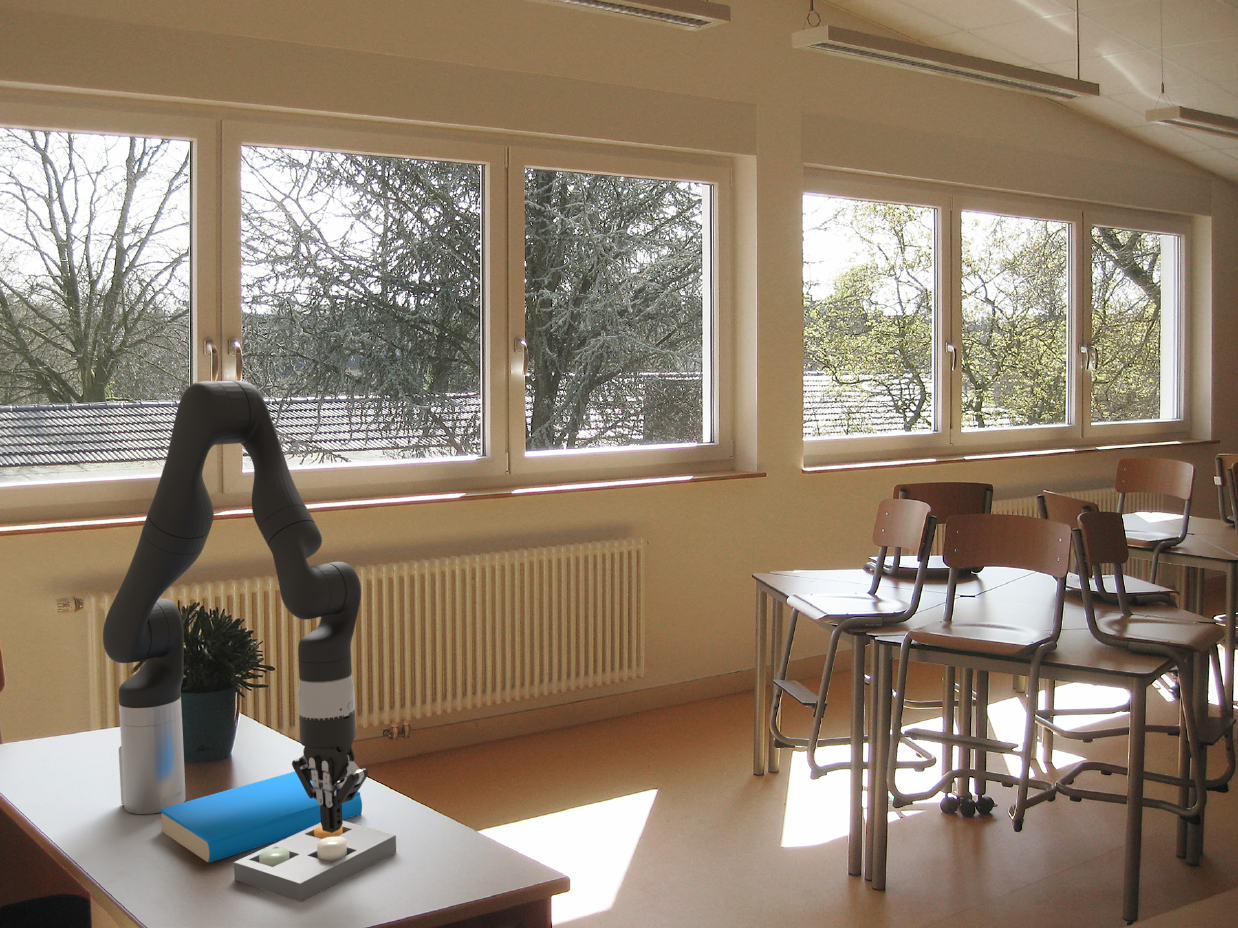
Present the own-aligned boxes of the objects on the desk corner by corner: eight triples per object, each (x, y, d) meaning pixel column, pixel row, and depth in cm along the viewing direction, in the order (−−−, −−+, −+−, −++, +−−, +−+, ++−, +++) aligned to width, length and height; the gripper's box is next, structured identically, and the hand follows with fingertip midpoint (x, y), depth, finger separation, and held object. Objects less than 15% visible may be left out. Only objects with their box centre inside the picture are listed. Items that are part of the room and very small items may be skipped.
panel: (234, 879, 156) (233, 862, 156) (332, 833, 171) (331, 817, 171) (300, 902, 149) (300, 883, 149) (396, 852, 164) (395, 835, 164)
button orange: (308, 847, 165) (308, 831, 165) (329, 838, 169) (328, 821, 168) (328, 853, 163) (327, 836, 163) (348, 843, 166) (348, 827, 166)
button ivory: (311, 862, 158) (310, 844, 157) (332, 851, 161) (332, 834, 161) (331, 868, 156) (331, 850, 155) (353, 857, 159) (352, 840, 159)
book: (158, 809, 173) (306, 765, 190) (160, 836, 173) (308, 790, 191) (209, 840, 161) (362, 790, 178) (211, 870, 161) (363, 817, 179)
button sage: (253, 874, 157) (252, 856, 157) (276, 863, 160) (275, 845, 160) (273, 880, 155) (272, 862, 154) (296, 869, 158) (295, 851, 158)
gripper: (272, 708, 157) (278, 830, 158) (341, 722, 150) (346, 849, 151) (313, 695, 163) (318, 812, 165) (381, 707, 156) (386, 830, 157)
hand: (332, 830), depth 158 cm, fingers closed
